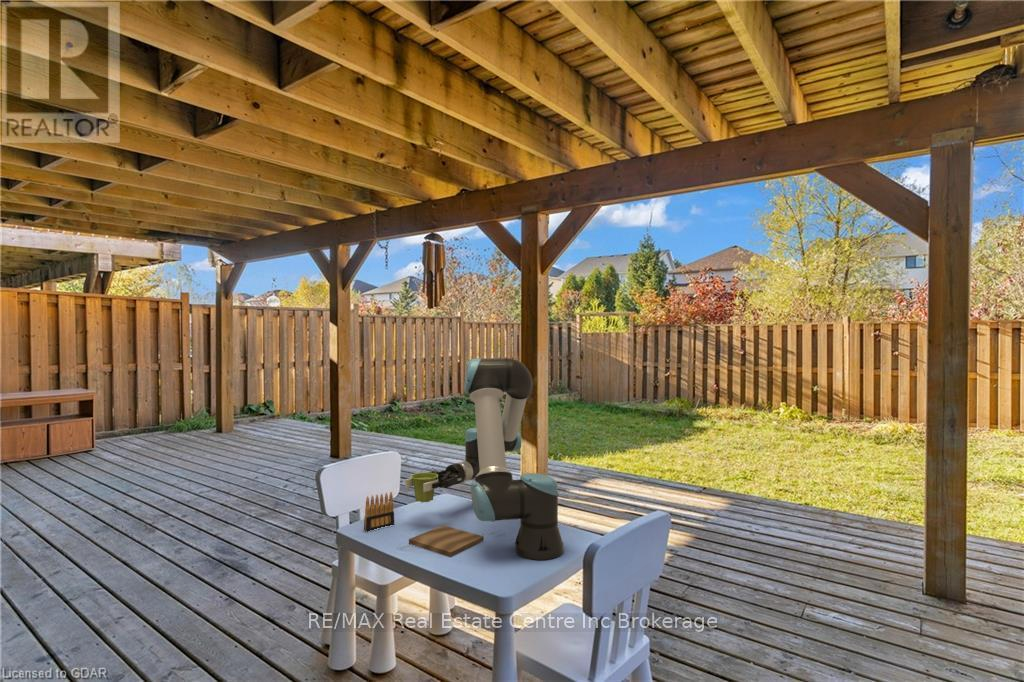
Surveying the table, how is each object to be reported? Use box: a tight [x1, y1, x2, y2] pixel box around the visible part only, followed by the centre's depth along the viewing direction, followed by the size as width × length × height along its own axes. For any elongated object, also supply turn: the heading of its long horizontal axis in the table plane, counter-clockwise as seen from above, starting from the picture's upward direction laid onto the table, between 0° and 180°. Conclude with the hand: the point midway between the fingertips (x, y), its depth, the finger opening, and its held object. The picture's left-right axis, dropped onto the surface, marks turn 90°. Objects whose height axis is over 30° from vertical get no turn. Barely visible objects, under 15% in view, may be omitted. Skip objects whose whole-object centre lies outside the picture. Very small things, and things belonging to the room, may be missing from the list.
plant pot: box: [410, 472, 438, 503], centre depth 184 cm, size 9×9×9 cm
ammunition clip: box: [363, 491, 395, 532], centre depth 182 cm, size 11×2×12 cm, turn 130°
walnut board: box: [408, 525, 485, 558], centre depth 169 cm, size 18×16×2 cm
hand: (414, 485), depth 180 cm, fingers closed on plant pot, 8 cm apart
